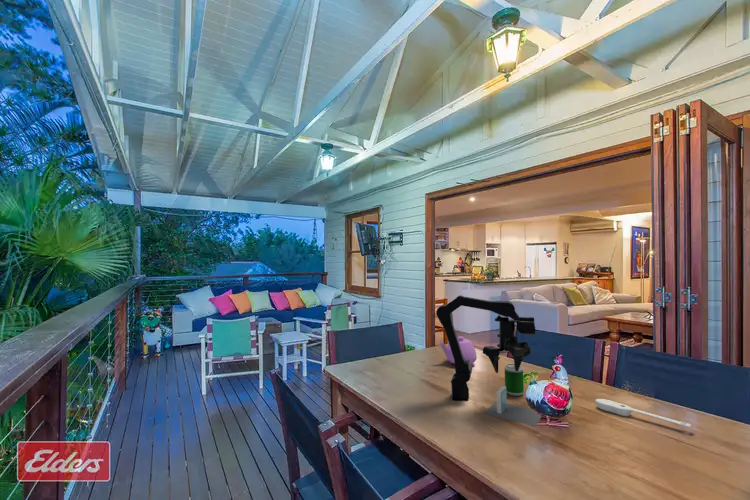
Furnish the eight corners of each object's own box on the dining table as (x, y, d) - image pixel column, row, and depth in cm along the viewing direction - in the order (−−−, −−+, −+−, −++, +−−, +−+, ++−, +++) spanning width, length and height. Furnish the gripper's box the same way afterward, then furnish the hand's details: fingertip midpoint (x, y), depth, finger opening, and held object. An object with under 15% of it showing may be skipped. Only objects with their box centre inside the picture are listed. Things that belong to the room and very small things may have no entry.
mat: (484, 414, 132) (484, 413, 132) (495, 402, 143) (495, 401, 143) (535, 427, 121) (535, 426, 121) (544, 412, 132) (544, 411, 132)
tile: (497, 412, 132) (496, 391, 132) (502, 406, 138) (502, 385, 138) (501, 413, 131) (501, 392, 131) (507, 407, 137) (506, 386, 137)
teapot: (434, 359, 206) (434, 333, 206) (467, 357, 208) (467, 332, 208) (445, 369, 186) (444, 341, 187) (481, 367, 188) (480, 339, 189)
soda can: (525, 397, 147) (524, 368, 147) (506, 396, 148) (505, 368, 149) (521, 391, 154) (521, 363, 154) (503, 390, 156) (503, 362, 156)
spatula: (693, 431, 117) (693, 423, 117) (689, 437, 114) (689, 428, 114) (598, 403, 139) (598, 396, 139) (593, 407, 135) (593, 400, 135)
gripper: (498, 338, 131) (498, 380, 131) (540, 336, 136) (540, 376, 136) (482, 332, 142) (481, 371, 142) (521, 330, 147) (521, 367, 147)
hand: (506, 371), depth 141 cm, fingers open, 9 cm apart
